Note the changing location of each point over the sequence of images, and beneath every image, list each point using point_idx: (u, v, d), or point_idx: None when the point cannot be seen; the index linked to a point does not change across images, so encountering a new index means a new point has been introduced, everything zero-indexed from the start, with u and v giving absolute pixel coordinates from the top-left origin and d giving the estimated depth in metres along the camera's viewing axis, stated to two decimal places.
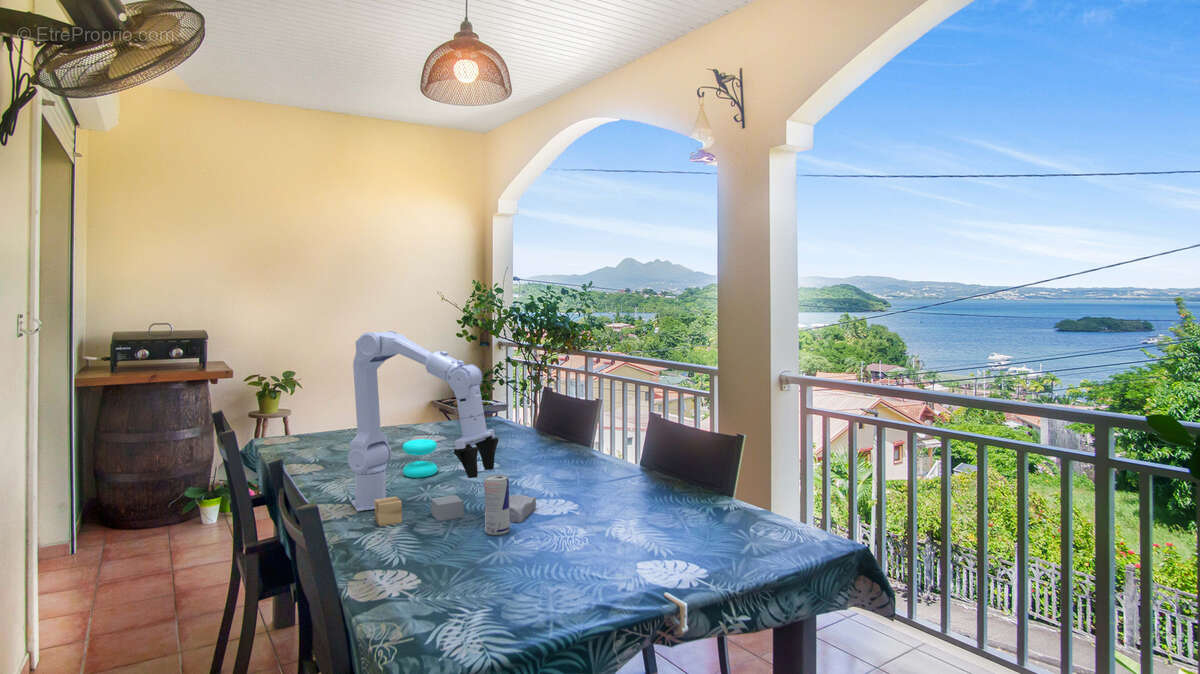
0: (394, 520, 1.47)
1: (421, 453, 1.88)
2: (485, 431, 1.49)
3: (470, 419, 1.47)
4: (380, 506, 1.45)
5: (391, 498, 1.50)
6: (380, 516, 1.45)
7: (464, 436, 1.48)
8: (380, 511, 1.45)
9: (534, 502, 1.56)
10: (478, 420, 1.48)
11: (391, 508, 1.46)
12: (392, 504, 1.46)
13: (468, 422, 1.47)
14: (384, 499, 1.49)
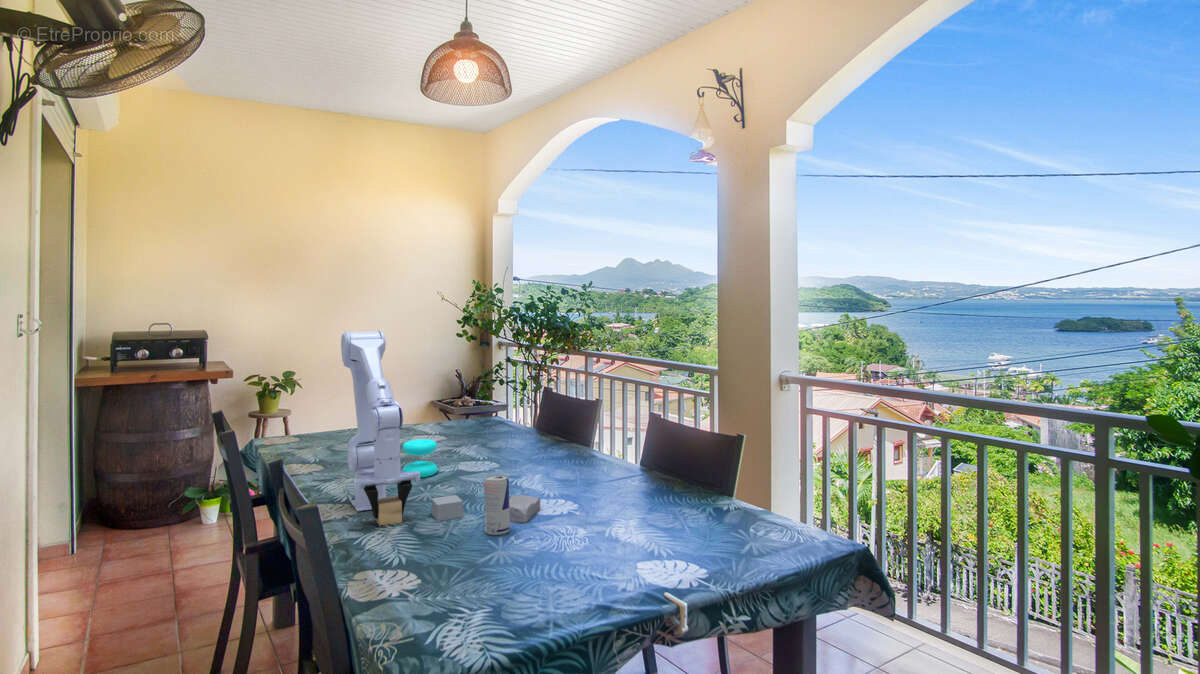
0: (394, 520, 1.47)
1: (421, 453, 1.88)
2: (391, 476, 1.46)
3: (376, 461, 1.45)
4: (380, 505, 1.45)
5: (391, 497, 1.50)
6: (380, 515, 1.45)
7: None
8: (380, 510, 1.45)
9: (539, 502, 1.56)
10: (383, 464, 1.45)
11: (391, 508, 1.46)
12: (392, 504, 1.46)
13: (375, 464, 1.46)
14: (384, 499, 1.49)
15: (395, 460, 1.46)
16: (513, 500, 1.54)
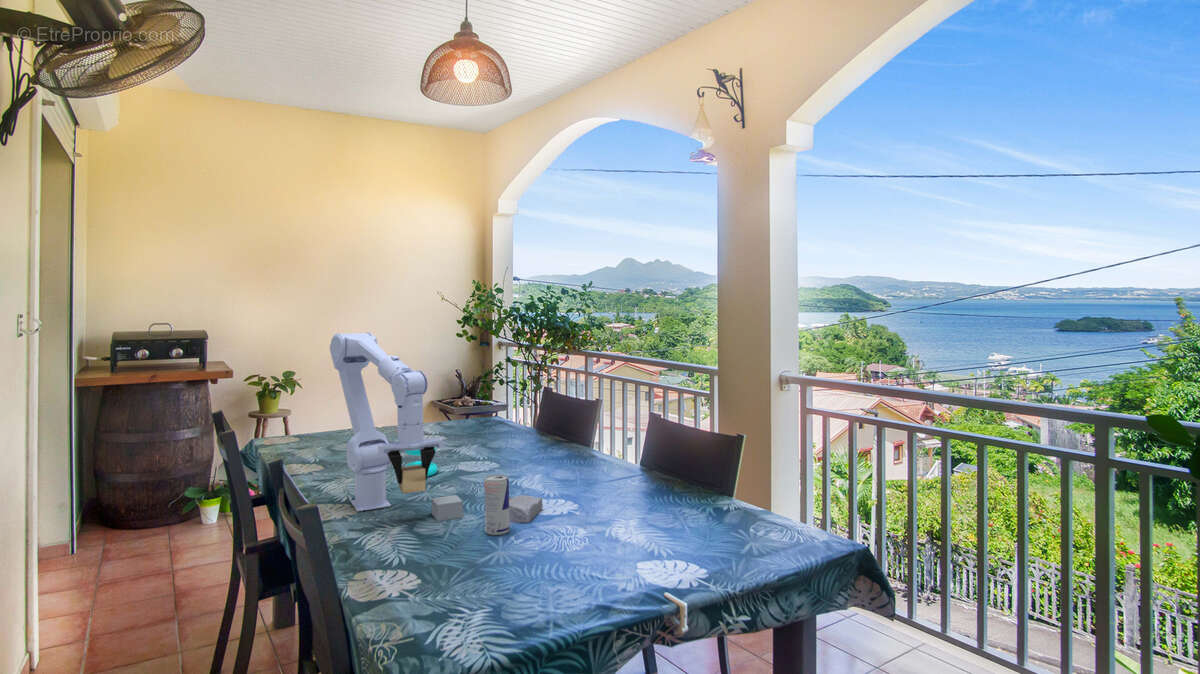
0: (418, 487, 1.48)
1: None
2: (414, 442, 1.47)
3: (400, 427, 1.47)
4: (404, 473, 1.46)
5: (415, 466, 1.51)
6: (404, 483, 1.46)
7: None
8: (404, 478, 1.46)
9: (541, 502, 1.55)
10: (406, 430, 1.46)
11: (415, 475, 1.47)
12: (416, 471, 1.47)
13: (399, 429, 1.47)
14: (407, 467, 1.50)
15: (418, 426, 1.47)
16: (515, 500, 1.54)
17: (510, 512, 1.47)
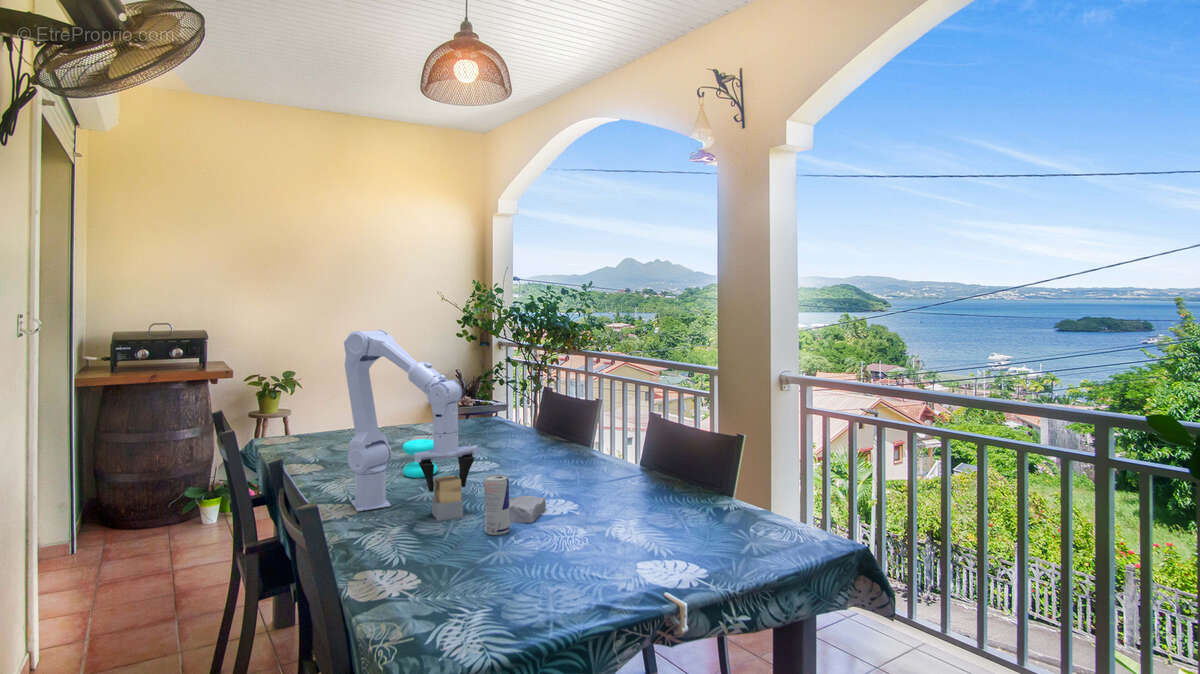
0: (454, 498, 1.51)
1: None
2: (450, 450, 1.49)
3: (436, 435, 1.49)
4: (441, 484, 1.49)
5: (450, 476, 1.54)
6: (441, 493, 1.49)
7: None
8: (441, 488, 1.49)
9: (544, 503, 1.55)
10: (443, 438, 1.49)
11: (452, 486, 1.50)
12: (452, 482, 1.50)
13: (434, 437, 1.50)
14: (443, 478, 1.53)
15: (454, 434, 1.50)
16: (519, 500, 1.53)
17: (514, 512, 1.47)
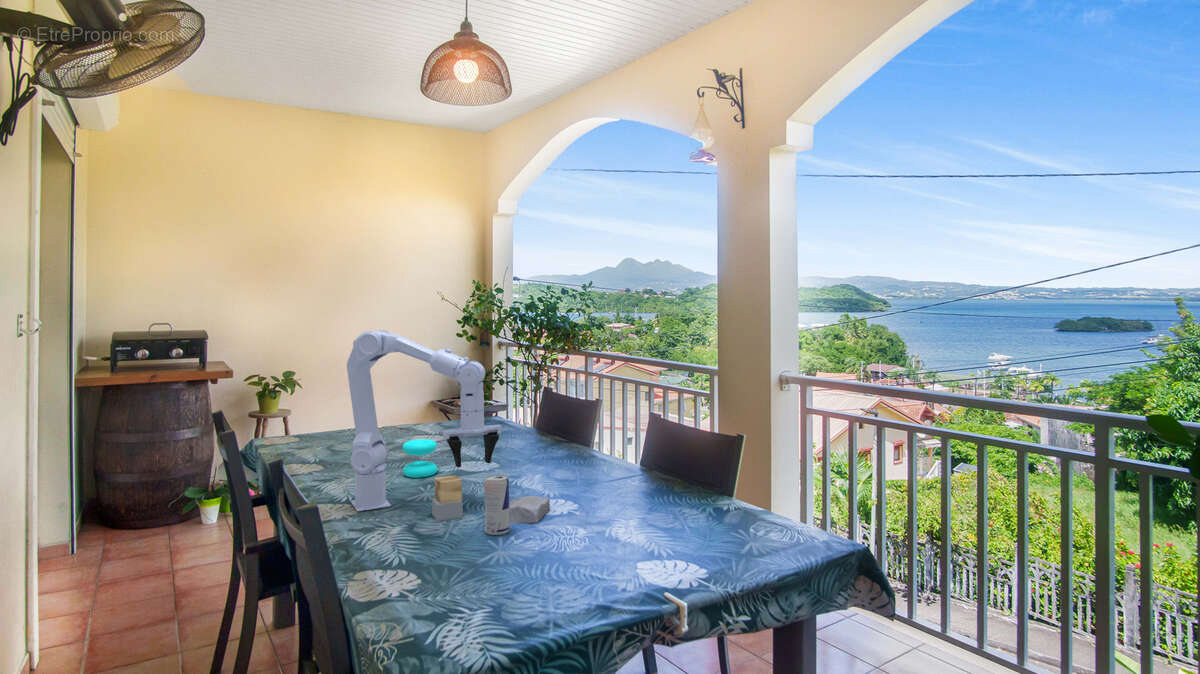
0: (454, 498, 1.51)
1: (421, 453, 1.88)
2: (477, 427, 1.57)
3: (463, 413, 1.57)
4: (441, 483, 1.49)
5: (450, 476, 1.54)
6: (441, 493, 1.49)
7: (461, 427, 1.59)
8: (441, 488, 1.49)
9: (548, 503, 1.55)
10: (470, 416, 1.56)
11: (452, 486, 1.50)
12: (453, 482, 1.50)
13: (462, 416, 1.57)
14: (443, 478, 1.53)
15: (480, 412, 1.57)
16: (523, 501, 1.53)
17: (518, 512, 1.47)
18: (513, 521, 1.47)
